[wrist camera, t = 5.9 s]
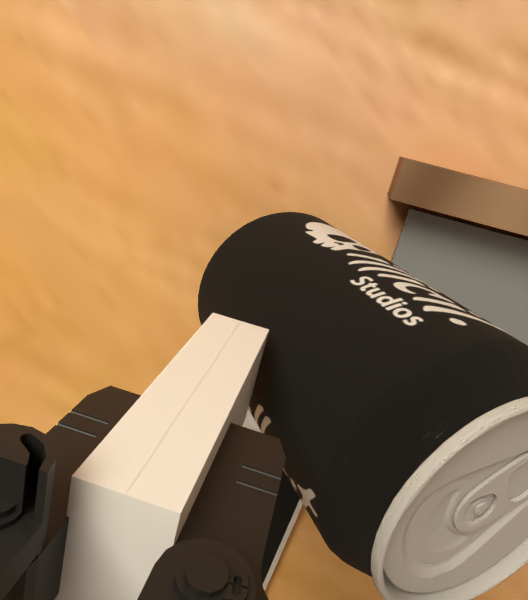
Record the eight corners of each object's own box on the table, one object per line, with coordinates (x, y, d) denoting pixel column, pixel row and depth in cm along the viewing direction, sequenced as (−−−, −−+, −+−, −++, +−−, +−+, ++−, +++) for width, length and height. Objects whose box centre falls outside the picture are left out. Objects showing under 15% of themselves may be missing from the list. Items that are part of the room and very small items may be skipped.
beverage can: (164, 253, 18) (320, 513, 8) (320, 177, 19) (631, 321, 9) (227, 380, 21) (391, 669, 11) (356, 310, 22) (607, 518, 12)
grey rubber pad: (348, 385, 23) (347, 389, 22) (409, 207, 20) (410, 209, 20) (613, 466, 22) (617, 472, 21) (717, 291, 19) (724, 294, 19)
